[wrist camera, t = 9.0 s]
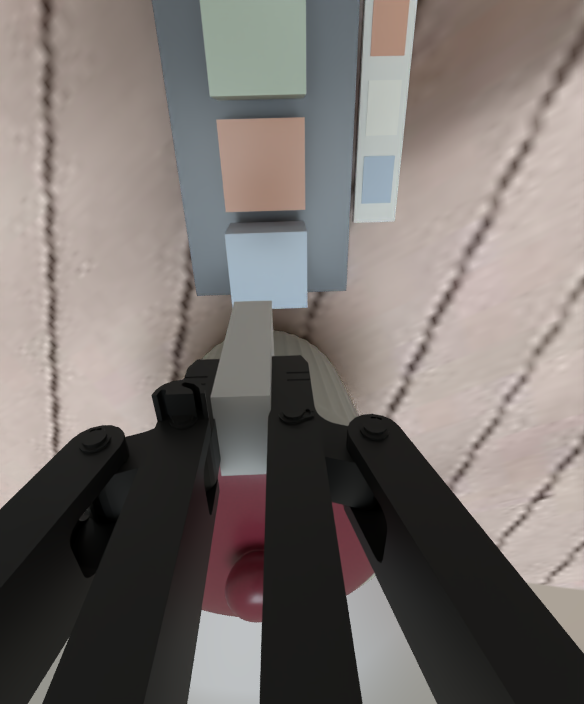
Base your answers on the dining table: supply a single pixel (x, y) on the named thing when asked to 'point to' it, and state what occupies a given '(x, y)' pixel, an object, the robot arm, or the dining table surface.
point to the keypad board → (316, 106)
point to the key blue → (268, 262)
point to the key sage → (255, 48)
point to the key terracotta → (262, 163)
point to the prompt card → (382, 106)
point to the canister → (250, 498)
